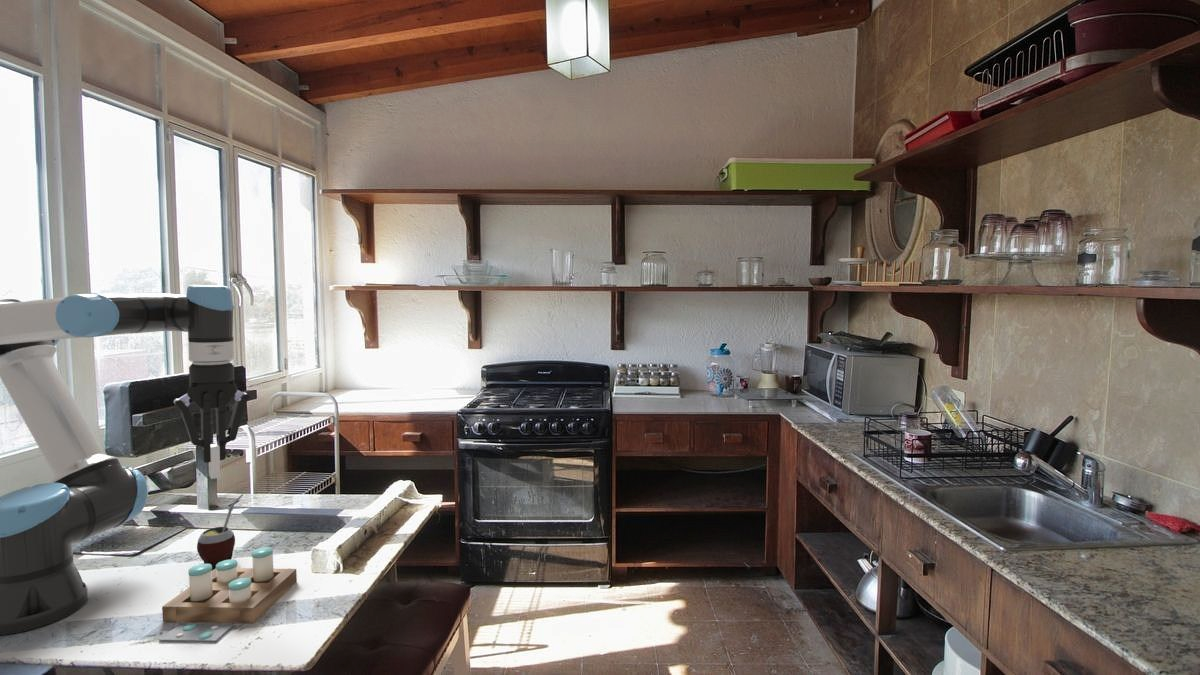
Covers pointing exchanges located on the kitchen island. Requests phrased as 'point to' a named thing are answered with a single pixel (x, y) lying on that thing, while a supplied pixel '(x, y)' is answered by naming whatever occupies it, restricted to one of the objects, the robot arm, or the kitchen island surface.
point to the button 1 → (200, 582)
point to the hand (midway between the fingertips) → (214, 476)
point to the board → (218, 603)
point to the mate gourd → (217, 542)
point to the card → (197, 633)
